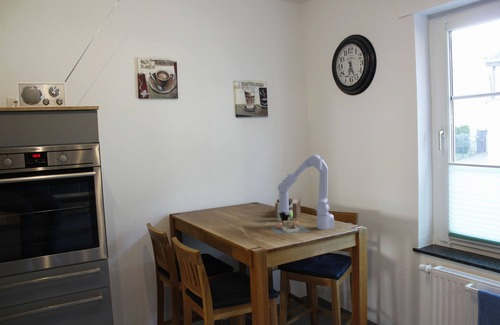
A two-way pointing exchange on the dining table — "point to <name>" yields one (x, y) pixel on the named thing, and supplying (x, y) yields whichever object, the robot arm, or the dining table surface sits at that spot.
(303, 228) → the slate board
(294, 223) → the pink rounded cylinder
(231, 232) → the dining table surface
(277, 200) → the coffee can
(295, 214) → the tissue box cover
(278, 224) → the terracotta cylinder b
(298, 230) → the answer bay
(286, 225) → the maple cube
